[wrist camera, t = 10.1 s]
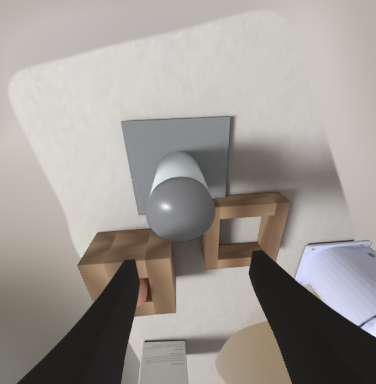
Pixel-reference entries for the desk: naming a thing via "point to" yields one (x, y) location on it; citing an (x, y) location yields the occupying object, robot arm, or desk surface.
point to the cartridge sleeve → (237, 208)
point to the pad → (176, 141)
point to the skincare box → (163, 363)
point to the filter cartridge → (179, 199)
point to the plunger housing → (145, 261)
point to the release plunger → (142, 291)
